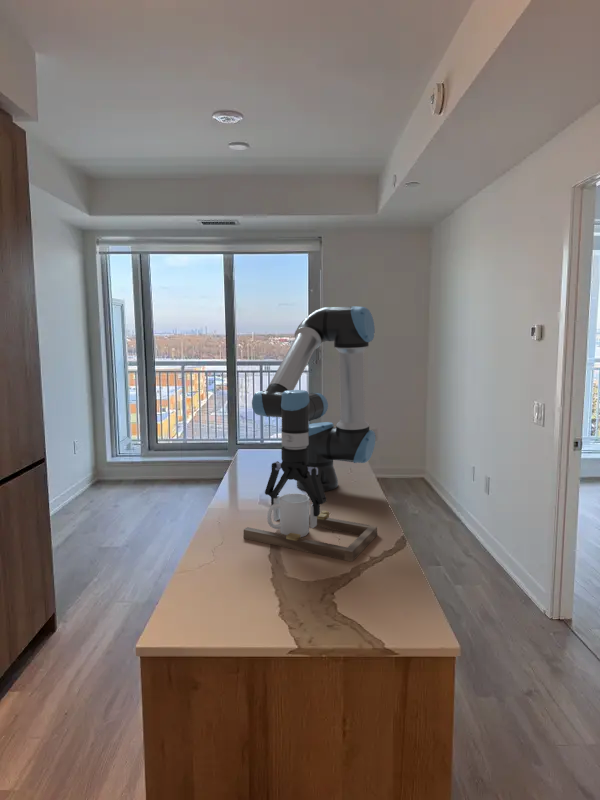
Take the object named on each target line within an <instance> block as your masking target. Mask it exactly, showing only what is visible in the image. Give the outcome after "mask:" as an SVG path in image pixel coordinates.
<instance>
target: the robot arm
mask: <svg viewBox="0 0 600 800" xmlns="http://www.w3.org/2000/svg"><path fill="white" fill-rule="evenodd" d="M375 329H376V328H375V322H374V317H373V315H372V313H371V311H370V309H369V308H367V307H365V306H358V305H357V306H356V305H352V306H349V305H348V306H325V307H321V308H318V309H316V310H314V311H312V312H311V313H310V314H308V315H307V316H306V317H305V318H304V319H303V320H302V321H301V322H300V324H299V325H298V326H297V328H296V329H295V331H294V336H293V337H294V339H293V341H292V343H291V345H290V347H289V348H288V350H287V352H286V354H285V356H284V357H283V360H282V361H281V362H280V364H279V366H278V368H277V370H276V372H275V374H274V375H273V377H272V379H271V380H270V383H269V384H268V386H267V387H266V389H265V390H261V391H260V390H259V391H256V392H255V393H253V396H252V400H251V409H252V410H253V413H254V414H255V415H256V416H261V417H266V418H271V417H272V418H281V446H282V447H281V462H279V461H275V462H272V463H271V470H270V471H271V472H270V475H269V478H268V481H267V485H266V487H265V490H264V494H265V496H269V497H270V503H271V504H270V506H271V505H273V504H280V497H281V496H282V495H280V493H281V491H282V490H283V488H284V487H285V485H286V483H287V482H288V480H289V481H290V480H294V481H295V482H296V487H297V488H299V489H301V490H303V491H305V492H306V495H307V496H308V497H309V500H310V501H311V503H312V504H309V514H310V525H309V529H314V528H316V527H317V516H318V515H319V514H320V513H321V505H323V504H325V503H326V502H327V500H328V499H327V497H326V493H325V492H328V491H332V490H334V489H337V488H338V485H339V479H338V476H337V473H336V470H335V467H334V461H338V462H349V463H353V464H357V463H359V464H366V463H367V462H369V461H370V459H371V458H372V455H373V452H374V450H375V446H376V433H375V431H374V430H373V429H370V423H369V422H368V421H367V420H366V410H365V409H366V405H365V404H366V403H365V401H366V399H365V398H366V396H365V394H366V393H365V392H366V391H365V387H366V386H365V351H366V350H367V349H368V348H369V343H370V342H372V341H373V340H374V337H375ZM324 342H333V347H334V349H335V350H336V351H337V352H338V370H339V371H338V376H339V381H338V382H339V383H338V384H339V414H340V416H339V418H340V419H339V421H338V422H337V423H336V425H334V423H333V422H331V421H325V422H324V421H323V422H314V423H310V421H314V420H318V419H320V418H321V417H323V416H324V415H326V413H327V412H328V409H329V403H328V399H327V398H326V396H325V395H324V394H322V393H320V392H310V393H309V392H308V391H307V390H303V389H296V387H297V385H298V383H299V381H300V379H301V377H302V375H303V373H304V371H305V369H306V367H307V365H308V363H309V362H310V359H311V358H312V355H313V353H314V351H315V350H317V349H318V348H319V347H320V346H321V345H322V344H323V343H324ZM280 470H282V472H283V474H282V475H281V477H280V479H279V481H278V482H277V480H278V477H279V473H280ZM276 482H277V484H276ZM279 519H280V508H274V509H273V522H277V521H280V520H279Z"/></svg>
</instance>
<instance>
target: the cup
mask: <svg viewBox="0 0 600 800" xmlns="http://www.w3.org/2000/svg"><path fill="white" fill-rule="evenodd" d="M280 496H281V497H280V504H273V505H271V504H270V506H269V508H268V510H267V518H266V519H267V524H268V526H270V527H271V528H272V529H274V530H280V534H284V535H288V534H289V533H295V534H300V535H301V538H303V537H305V536H307V535H308V534H309V532H310V525H309V514H310V498H309V496H308V494H303V493H295V492H293V493H287V494H283V495H280ZM274 508H280V520H279V523H277V524H275V523H273V521H272V514H273V511H274Z"/></svg>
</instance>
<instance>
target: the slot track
mask: <svg viewBox="0 0 600 800" xmlns="http://www.w3.org/2000/svg"><path fill="white" fill-rule="evenodd" d="M278 521H280V519H279V520H278ZM309 526H310V513H309ZM317 527H318V528H323V529H329V530H333V531H339V532H344V533H349V534H354V535H358V537H357V538H355V540H354V541H353V542H352V543H351V544H350V545H348V546H342V545H336V544H333V543H327V542H321V541H317V540H313V539H308V538H303V537H301V535H300V534H295V533H289V534H288V535H284V534H281V533H279V532H273V531H268V530H264V529H263V530H262V529H259V528H253V527H248V526H247V527H245V528H243V539H246V540H250V541H254V542H259V543H264V544H269V545H273V546H277V547H283V548H288V549H292V550H297V551H302V552H307V553H311V554H315V555H321V556H325V557H329V558H334V559H339V560H343V561H347V562H354V560H355V559H356V558H357V557H358V556H359V555H360V554H361V553H362V552H363V551H364V549H366V547H368V546H369V544H370V543H371V542H373V540H374V539H375V538H376V537H377V536H378V526H377V525H371V524H365V523H360V522H355V521H350V520H344V519H343V520H342V519H337V518H332V517H330V511H328V510H322V511H321V510H320V514H319V515H318V516H317V526H316V528H317Z"/></svg>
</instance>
